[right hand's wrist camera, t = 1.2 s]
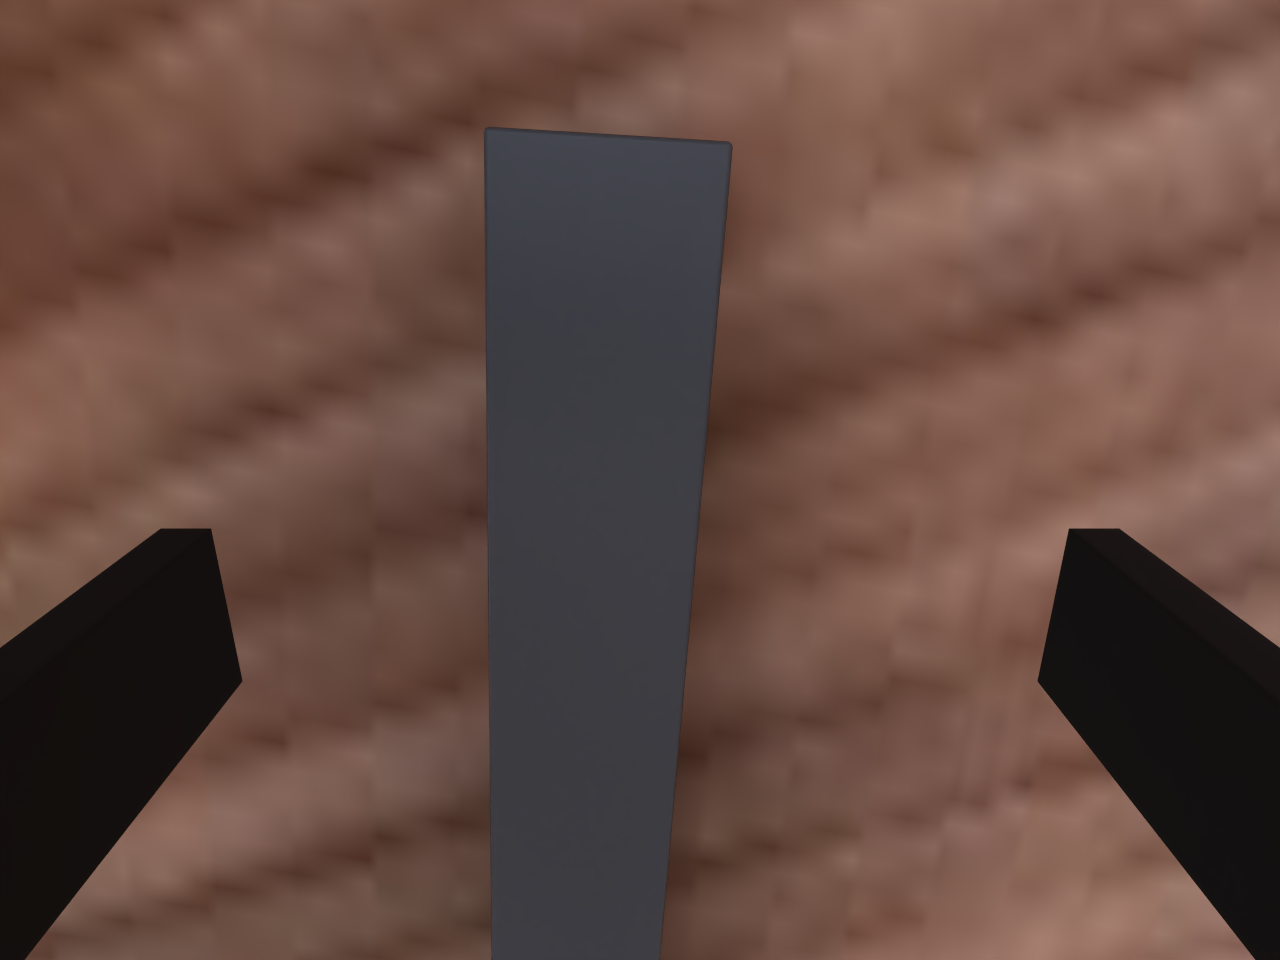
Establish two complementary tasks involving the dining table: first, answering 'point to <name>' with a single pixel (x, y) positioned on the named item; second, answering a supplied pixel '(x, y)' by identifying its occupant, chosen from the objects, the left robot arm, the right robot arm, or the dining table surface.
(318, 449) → the dining table surface
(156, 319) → the dining table surface
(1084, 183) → the dining table surface
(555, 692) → the beam
